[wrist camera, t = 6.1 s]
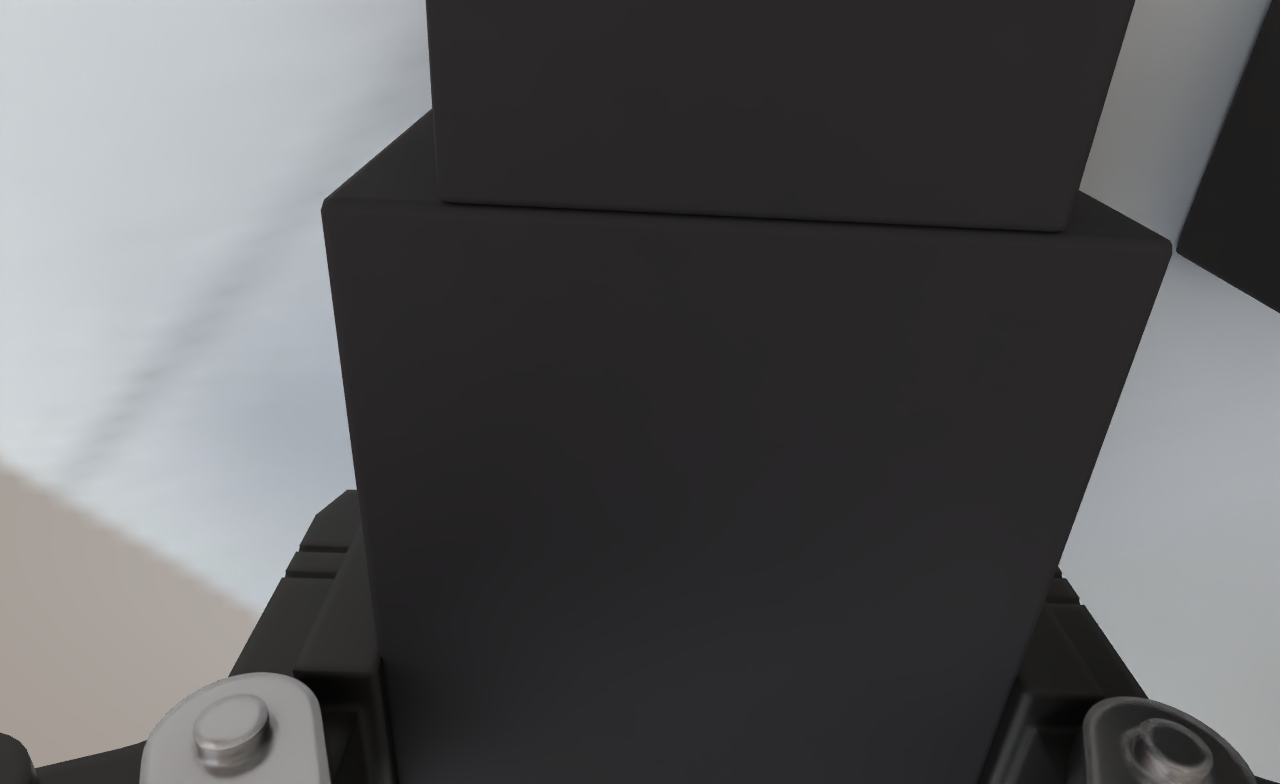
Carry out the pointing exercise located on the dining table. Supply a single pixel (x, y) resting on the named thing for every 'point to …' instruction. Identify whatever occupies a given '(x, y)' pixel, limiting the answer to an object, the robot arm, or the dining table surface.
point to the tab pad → (729, 380)
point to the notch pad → (1244, 182)
